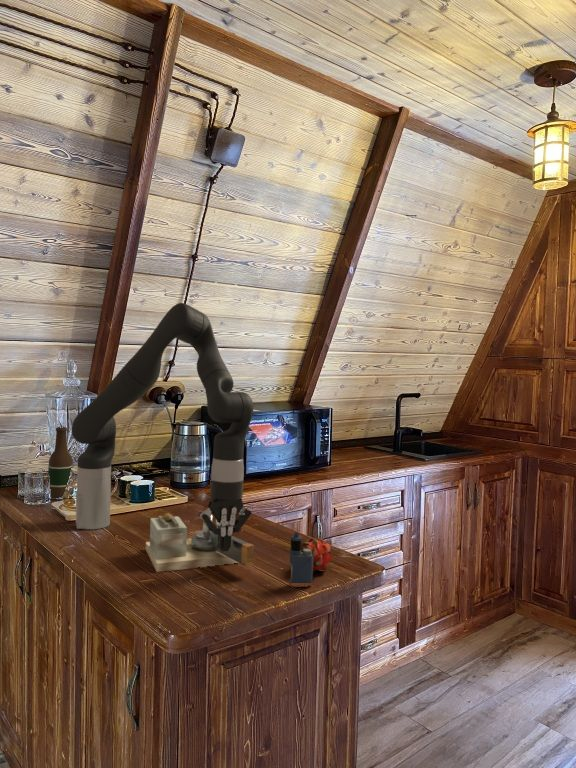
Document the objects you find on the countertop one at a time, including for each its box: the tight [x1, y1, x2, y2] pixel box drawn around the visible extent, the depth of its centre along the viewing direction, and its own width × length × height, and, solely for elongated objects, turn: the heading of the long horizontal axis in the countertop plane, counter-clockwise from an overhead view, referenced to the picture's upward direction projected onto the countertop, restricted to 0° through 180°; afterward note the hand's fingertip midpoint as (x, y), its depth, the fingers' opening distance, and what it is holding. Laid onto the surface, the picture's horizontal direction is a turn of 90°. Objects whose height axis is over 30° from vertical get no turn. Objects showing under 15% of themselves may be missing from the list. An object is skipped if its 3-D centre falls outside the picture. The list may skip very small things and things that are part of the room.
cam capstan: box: [190, 513, 255, 568], centre depth 144 cm, size 22×8×8 cm, turn 39°
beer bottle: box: [47, 426, 74, 498], centre depth 199 cm, size 8×8×24 cm
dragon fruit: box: [301, 537, 333, 571], centre depth 142 cm, size 8×8×12 cm
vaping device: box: [289, 531, 314, 584], centre depth 132 cm, size 3×5×12 cm, turn 95°
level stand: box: [145, 512, 239, 573], centre depth 148 cm, size 20×16×11 cm
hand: (223, 550), depth 138 cm, fingers closed
